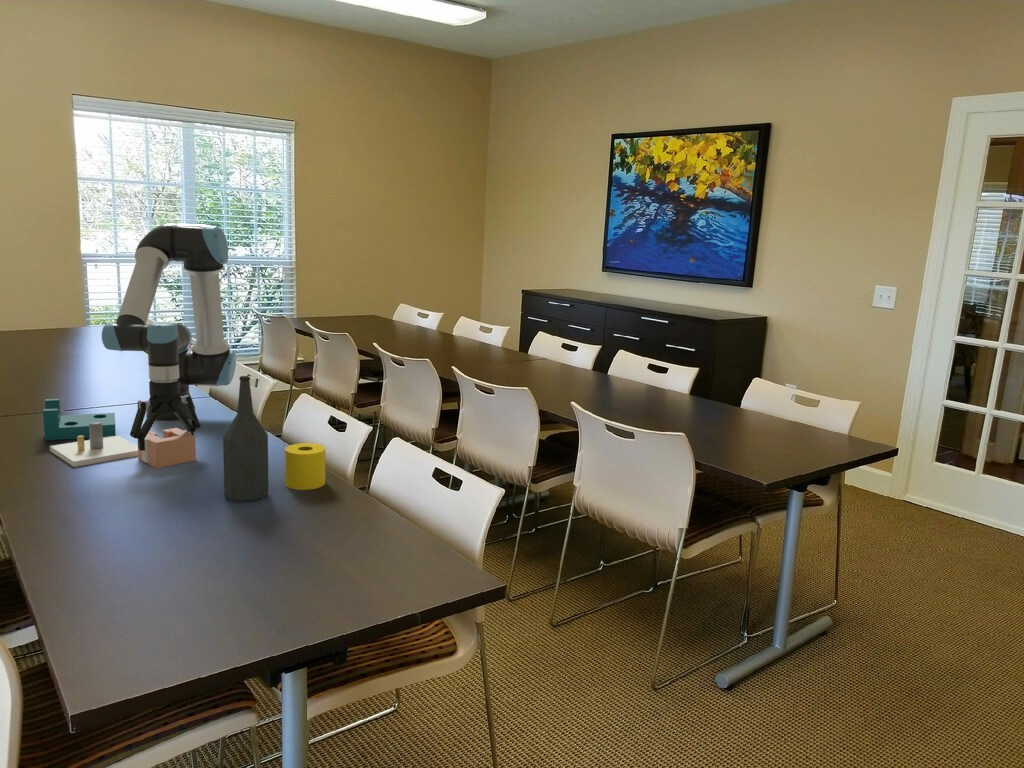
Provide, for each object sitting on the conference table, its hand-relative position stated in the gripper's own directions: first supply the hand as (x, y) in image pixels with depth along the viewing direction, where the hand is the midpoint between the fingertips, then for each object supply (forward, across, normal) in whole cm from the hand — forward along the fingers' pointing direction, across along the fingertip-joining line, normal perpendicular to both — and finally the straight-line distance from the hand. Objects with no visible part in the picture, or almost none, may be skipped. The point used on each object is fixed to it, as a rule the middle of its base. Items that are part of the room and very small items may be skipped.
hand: (167, 457), depth 212 cm
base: (+1, +12, -17) cm, 21 cm away
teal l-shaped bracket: (+1, +9, -37) cm, 38 cm away
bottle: (+1, -2, +39) cm, 39 cm away
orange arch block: (+1, 0, 0) cm, 1 cm away
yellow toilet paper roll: (+1, -18, +40) cm, 44 cm away
